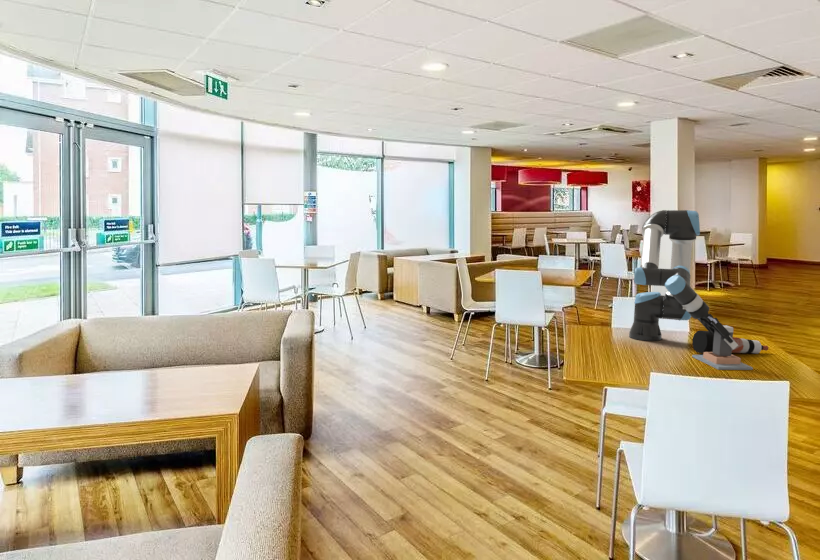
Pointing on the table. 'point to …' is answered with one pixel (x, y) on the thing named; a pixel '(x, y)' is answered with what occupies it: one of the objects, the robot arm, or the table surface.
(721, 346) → the plug
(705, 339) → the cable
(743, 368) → the dock
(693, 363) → the table surface
